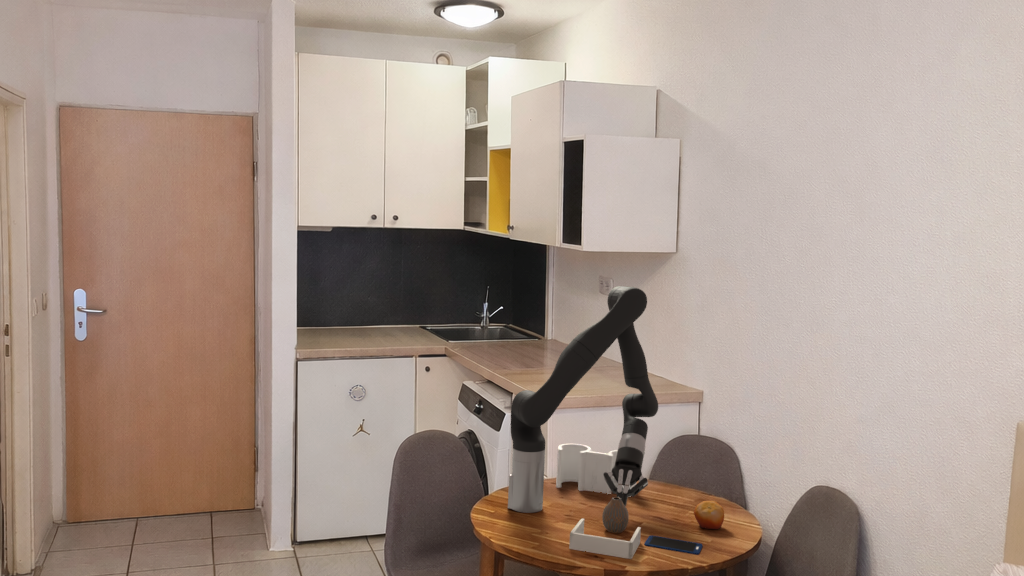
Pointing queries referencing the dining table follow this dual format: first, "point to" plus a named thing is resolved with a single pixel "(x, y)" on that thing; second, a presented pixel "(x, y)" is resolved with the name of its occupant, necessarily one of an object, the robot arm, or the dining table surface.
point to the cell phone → (674, 544)
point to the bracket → (585, 467)
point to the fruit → (709, 515)
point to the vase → (615, 516)
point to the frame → (603, 543)
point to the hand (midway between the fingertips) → (620, 507)
